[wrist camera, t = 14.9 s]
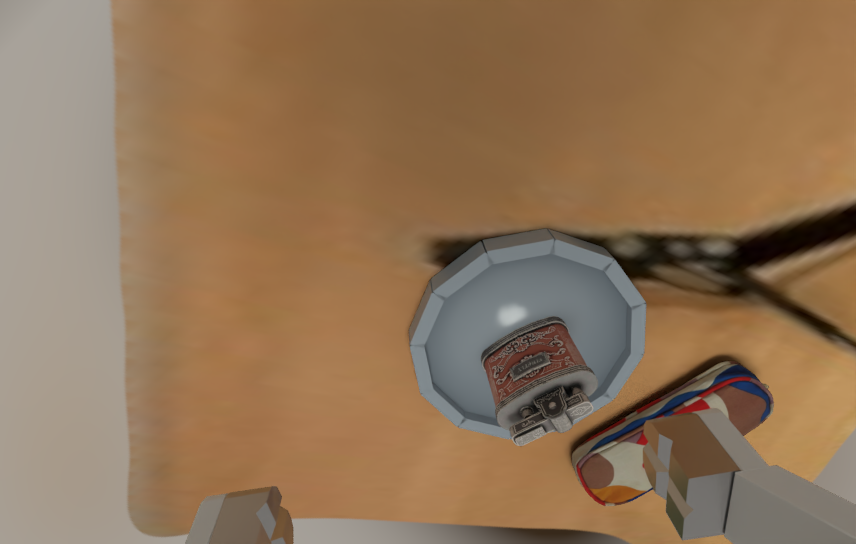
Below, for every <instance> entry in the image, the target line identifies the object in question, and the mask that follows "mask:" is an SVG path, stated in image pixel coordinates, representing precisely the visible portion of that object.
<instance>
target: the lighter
mask: <svg viewBox="0 0 856 544" xmlns="http://www.w3.org/2000/svg"><path fill="white" fill-rule="evenodd" d="M481 363H482V366H483V369H484V371H485V372H486V373H487V377H488V381H489V384H490V388H491V392H492V395H493V399H494V402H495V406H496V408H495V415H496V419H497V422H498V424H499V425H500V426H501V427H502V428H503V429H506V430H509V431H510V433H511V437H512V440H513V442H514V443H515V444H516V445H519V446H522V445H525V444H527V443H529V442H531V441H533V440H536V439H538V438H540V437H542V436H544V435H546V434H547V433H549V432H551V431H557V432H559V433H564V432H566V431H568V430H570V429H571V428H572V426H573V423H574V421H575V420H577V419H579V418H581V417H583V416H585V415H587V414H589V413H591V412H592V411H593V406H592V404H591V402H590V400H589V398H588V397H589V396H590V395H592V394H593V393H594V392H595V391H596V389H597V387H598V380H597V377H596V376H595V374H594V372H593V371H592V370H591V368H590V367H588V366H587V365H586V363H585V361H584V359H583V358H582V356H581V354H580V352H579V351H578V349H577V347H576V345H575V344H574V342H573V340H572V338H571V337H570V335H569V329H568V327H567V325H566V324H565V322H564V321H563V320H562V319H561V318H559V317H557V316H550V317H546V318H543V319H540V320H537V321H534V322H531V323H529V324H527V325H525V326H522V327H520V328H518V329H516V330H514V331H512V332H510V333H509V334H507V335H505V336H504V337H502V338H500V339H499V340H497V341H496V342H494V343H493V344H492V345H490V346H489V347H488V348H486V349H485V350H484V351H483V352H482V354H481Z"/></svg>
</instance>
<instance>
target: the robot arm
mask: <svg viewBox="0 0 856 544" xmlns="http://www.w3.org/2000/svg"><path fill="white" fill-rule="evenodd" d="M643 434H644V435H645V437H646V439H647V440H648V443H647V444H646V445H645V446H644V448H643V463H644V467H645V472H646V475H647V477H648V480H649V482H650V484H651V486H652V488H653V490H654V491H655V493H656V494H658V495H659V496H661V497H662V498H664V499H666V513H667V515H668V516H669V518H670V520H671V522H672V523H673V525H674V527H675V529H676V530H677V532H678V534H679V536H680V537H681V539H682V540H688V539H695V538H702V537H709V536H716V535H723V534H725V535H724V537H725V538H727V539H728V540H729V541H731V542H732V543H733V544H856V505H855V504H853V503H851V502H849V501H847V500H845V499H843V498H841V497H839V496H837V495H835V494H833V493H831V492H829V491H827V490H825V489H823V488H821V487H819V486H817V485H815V484H813V483H811V482H809V481H807V480H805V479H803V478H801V477H799V476H797V475H795V474H793V473H791V472H789V471H787V470H785V469H783V468H781V467H779V466H777V465H775V466H768V464H767V463H766V462H765V461H764V460H763V459H762V457H761V456H760V455H759V454H758V453H757V452H756V450H755V449H754V448H753V447H752V446H751V445H750V443H749V442H748V441H747V440H746V439H745V438H744V437H743V435H742V434H741V433H740V432H739V431H738V430H737V428H736V427H735V426H734V425H733V424H732V423H731V421H730V420H729V419H728V418H727V417H726V416H725V414H724V413H723V412H722V411H721V410H719V409H717V408H712V409H706V410H701V411H695V412H692V413H691V412H688V413H683V414H678V415H672V416H667V417H662V418H656V419H651V420H646V422H645V424H644V433H643ZM281 499H282V496H281V494H280V492H279V490H278V488H277V487H275V486H272V487H265V488H258V489H251V490H244V491H238V492H231V493H226V494H220V495H213V496H207V497H206V498H205V499H204V500H203V501H202V502H201V504H200V507H199V509H198V512H197V514H196V517H195V519H194V522H193V524H192V527H191V530H190V532H189V535H188V537H187V540H186V542H185V544H293V525H292V520H291V517H290V514H289V512H288V510H286V509H285V508H283V507H281V506H280V503H281Z"/></svg>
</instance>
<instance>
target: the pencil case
mask: <svg viewBox="0 0 856 544" xmlns="http://www.w3.org/2000/svg"><path fill="white" fill-rule="evenodd" d="M768 388H769V386H768V385H766V384H763V383H761V382H760V381H759V380H758V378H757V377H756V376H755V375H754V374H753V373H751V372H750V371H749V370H747V369H746V368H744V367H743V366H742V365H741V364H740V363H738V362H735V361H725V362H721V363H718V364H716V365H714V366H713V367H711V368H709V369H708V370H706V371H704V372H703V373H701V374H699V375H698V376H696V377H695V378H693V379H691V380H690V381H688V382H687V383H685V384H684V385H682V386H681V387H679V388H677V389H675V390H673V391H672V392H670V393H668V394H666V395H664V396H662V397H660V398H659V399H657V400H655V401H653V402H651V403H649V404H647V405H645V406H643V407H642V408H640V409H637V410H636V412H634V413H632V414H630V415H628V416H627V417H625V418H623V419H622V420H620V421H618V422H617V423H615V424H613V425H612V426H610V427H608V428H607V429H605V430H603V431H602V432H599V433H598V434H596V435H594V436H592V437H590V438H589V439H588V440H586V441H585V442H583V443H582V444H581V445H580V446H578V447H577V448H576V449H575V450H574V451H573V453H572V458H571V460H572V465H573V467H574V469H575V473H576V476H577V478H578V481H579V482H580V484H581V486H582V487H584V489H585V490H586V492H587V493H588V494H589V495H590V496H591V497H592V498H593V499H594V500H595V501H596V502H598V503H599V504H602V505H604V506H606V505H607V506H615V505H621V504H624V503H627V502H630V501H632V500H634V499H637V498H638V497H640V496H642V495H644V494H645V493H647V492H649V491H650V490H652V489H653V488H652V486H651V484H650V482H649V480H648V477H647V475H646V472H645V467H644V463H643V448H644V446H645V445H646V444H647V443H648V440H647V439H646V437H645V435H644V434H643V433H644V424H645V422H646V420H651V419H656V418H662V417H667V416H672V415H678V414H683V413H688V412H691V413H692V412H695V411H701V410H706V409H712V408H717V409H719V410H721V411H722V412H723V413H724V414H725V416H726V417H727V418H728V419H729V420H730V421H731V423H732V424H733V425H734V426H735V427H736V428H737V430H738V431H739V432H740V433H741V434H742V435H743V436H744V435H746V434H747V433H749V432H750V431H751V430H753V429H754V428H756V427H758V426H759V425H760V424H761V423H763V422H764V421H765V420H766V419H767V418H768V417H769V416H770V415H771V414H772V412H773V407H774V402H773V397H772V394H771V393H770V392H769V390H768Z"/></svg>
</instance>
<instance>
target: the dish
mask: <svg viewBox="0 0 856 544" xmlns="http://www.w3.org/2000/svg"><path fill="white" fill-rule="evenodd" d="M482 241H483V243H482V242H481V241H480V242H478V243H477V244H476V245H474V246H473V247H472V248H470V249H469V250H468V251H466V252H465V253H464V254H462V255H461V256H460V257H459V258H457V259H456V260H455V261H453V262H452V263H451V264H449V265H448V266H447V267H445V268H444V269H443V270H441V271H440V272H439V273H438V274H436V275H435V276H434V277H432V278H431V280H430V281H429V283H428V285H427V288H426V290H425V293H424V295H423V297H422V300H421V302H420V305H419V307H418V309H417V312H416V314H415V317H414V319H413V321H412V324H411V326H410V328H409V343H410V350H411V354H412V358H413V363H414V367H415V372H416V376H417V381H418V385H419V390H420V393H421V395H422V396H423V397H424V398H425V399H426V400H428V401H429V402H430V403H431V404H432V405H433V406H434V407H435V408H437V409H438V410H439V411H440V412H441V413H442V414H443V415H444V416H445V417H447V418H448V419H449V420H450V421H451V422H452V423H453V424H454V425H455V426H457V427H458V428H463V429H467V430H471V431H475V432H480V433H484V434H488V435H492V436H497V437H501V438H505V439H509V438H510V439H512V437H511V433H510V431H509V430H506V429H503V428H502V427H501V426H500V425H499V424H498V422H497V419H496V415H495V408H496V406H495V402H494V399H493V395H492V392H491V388H490V384H489V381H488V377H487V373H486V372H485V371H484V369H483V366H482V363H481V354H482V352H483V351H484V350H485V349H486V348H488V347H489V346H490V345H492V344H493V343H494V342H496V341H497V340H499V339H500V338H502V337H504V336H505V335H507V334H509V333H510V332H512V331H514V330H516V329H518V328H520V327H522V326H525V325H527V324H529V323H531V322H534V321H537V320H540V319H543V318H546V317H550V316H557V317H559V318H561V319H562V320H563V321H564V322H565V324H566V325H567V327H568V329H569V335H570V337H571V338H572V340H573V342H574V344H575V345H576V347H577V349H578V351H579V352H580V354H581V356H582V358H583V359H584V361H585V363H586V365H587V366H588V367H590V368H591V370H592V371H593V372H594V374H595V376H596V377H597V380H598V387H597V389H596V391H595V392H594V393H593V394H592V395H590V396H589V397H588V398H589V400H590V402H591V404H592V406H593V411H592V412H591V413H589V414H587V415H585V416H583V417H581V418H579V419H577V420H575V421H574V423H573V425H574V424H575V423H577V422H579V421H580V420H582V419H583V418H585V417H587V416H588V415H590V414H592V413H593V412H595V411H596V410H598V409H600V408H601V407H603V406H605V405H606V404H608V403H609V402H611V401H613V399H615V397H616V396H617V394H618V393H619V391H620V390H621V388H622V387H623V385H624V384H625V382H626V381H627V379H628V378H629V376H630V375H631V373H632V372H633V370H634V369H635V367H636V366H637V364H638V363H639V361H640V360H641V358H642V357H643V354H644V347H645V322H646V302H645V300H644V299H643V298H642V296H641V295H640V293H639V292H638V291H637V289H636V288H635V287H634V285H633V284H632V282H631V281H630V280H629V278H628V277H627V275H626V274H625V273H624V271H623V270H622V269H621V267H620V266H619V264H618V263H617V262H616V260H615V259H614V258H613V257H612V256H611V255H610V254H609V253H608V252H607V250H606V249H605V248H603V247H600V246H598V245H595V244H592V243H589V242H586V241H583V240H580V239H577V238H574V237H571V236H568V235H565V234H562V233H560V232H557V231H554V230H551V229H546V228H545V229H540V230H534V231H529V232H523V233H518V234H512V235H507V236H501V237H496V238H490V239H485V240H482ZM551 432H555V431H551Z"/></svg>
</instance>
